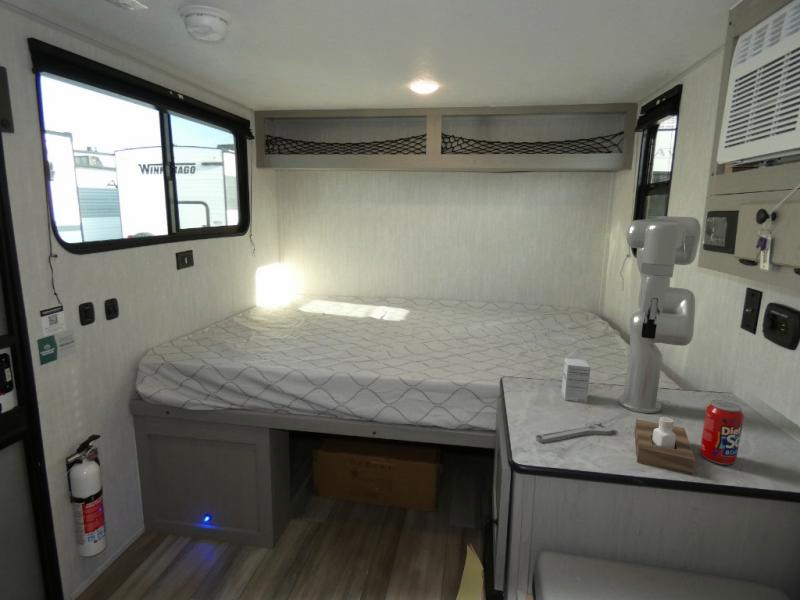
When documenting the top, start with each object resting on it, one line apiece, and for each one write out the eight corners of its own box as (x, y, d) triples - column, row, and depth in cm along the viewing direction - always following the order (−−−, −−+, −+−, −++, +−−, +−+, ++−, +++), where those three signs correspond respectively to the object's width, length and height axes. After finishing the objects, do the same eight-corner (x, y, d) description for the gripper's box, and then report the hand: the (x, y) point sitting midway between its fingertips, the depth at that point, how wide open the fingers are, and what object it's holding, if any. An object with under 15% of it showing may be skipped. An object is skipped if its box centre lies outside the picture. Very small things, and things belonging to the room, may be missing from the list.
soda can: (699, 448, 124) (708, 396, 121) (735, 457, 120) (744, 403, 117) (698, 460, 118) (707, 406, 115) (736, 470, 113) (746, 414, 110)
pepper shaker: (649, 449, 121) (654, 416, 120) (664, 449, 122) (668, 416, 120) (659, 457, 118) (664, 423, 116) (674, 457, 118) (679, 423, 116)
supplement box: (560, 392, 160) (564, 357, 158) (583, 394, 159) (586, 359, 156) (563, 400, 153) (567, 364, 151) (587, 402, 152) (591, 366, 149)
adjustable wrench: (538, 445, 125) (539, 439, 124) (526, 434, 131) (527, 428, 130) (616, 435, 131) (617, 429, 131) (601, 424, 137) (602, 419, 137)
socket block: (634, 432, 132) (636, 419, 131) (682, 441, 127) (684, 428, 127) (637, 462, 116) (638, 447, 115) (692, 474, 111) (694, 459, 111)
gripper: (639, 266, 129) (631, 329, 132) (642, 272, 115) (633, 342, 119) (670, 268, 126) (661, 332, 129) (676, 275, 112) (666, 346, 116)
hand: (647, 337), depth 124 cm, fingers closed
